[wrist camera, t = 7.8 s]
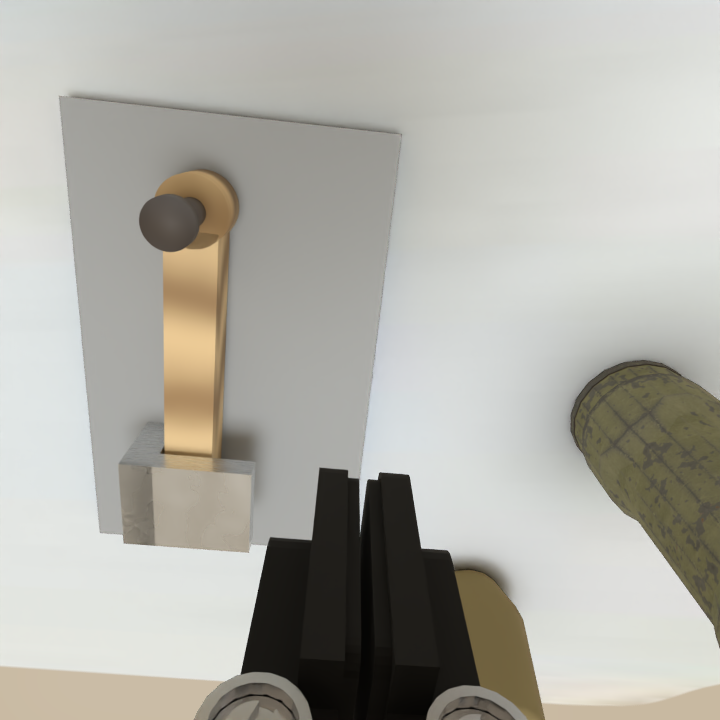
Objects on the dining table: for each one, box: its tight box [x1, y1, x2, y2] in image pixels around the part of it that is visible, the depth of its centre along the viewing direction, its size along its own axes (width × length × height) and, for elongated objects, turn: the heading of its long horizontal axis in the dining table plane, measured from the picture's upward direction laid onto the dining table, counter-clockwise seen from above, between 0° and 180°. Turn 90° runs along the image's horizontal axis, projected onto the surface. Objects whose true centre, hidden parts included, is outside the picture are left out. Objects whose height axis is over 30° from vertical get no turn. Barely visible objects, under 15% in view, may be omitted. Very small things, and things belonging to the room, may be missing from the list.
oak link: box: [139, 169, 239, 459], centre depth 33 cm, size 23×4×7 cm, turn 173°
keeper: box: [118, 421, 255, 553], centre depth 37 cm, size 6×8×5 cm
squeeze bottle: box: [455, 570, 545, 720], centre depth 38 cm, size 8×8×18 cm
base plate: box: [59, 96, 402, 546], centre depth 37 cm, size 30×19×2 cm, turn 174°
